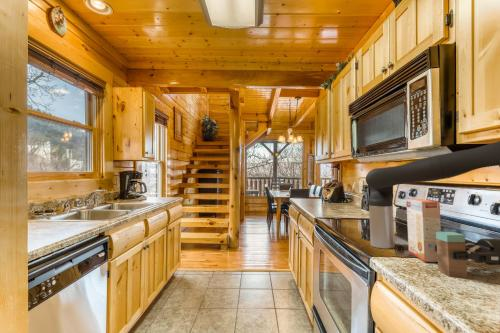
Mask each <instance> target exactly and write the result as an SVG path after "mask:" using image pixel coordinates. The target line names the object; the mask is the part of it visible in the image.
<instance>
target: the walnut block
mask: <svg viewBox="0 0 500 333" xmlns="http://www.w3.org/2000/svg"><path fill="white" fill-rule="evenodd" d="M436 241H437V259H438V263H437V271H438V272H439V271H440V272H439V273H441V272H442V273H441V274H443V273H444V274H443V275H445V276H447V277H449V278H467V277H468V267H467V266H468V265H467V260H455V259H452V256H451V252H452V251H466V246H465V244H466V234H462V233H458V232H454V231H441V232H436Z"/></svg>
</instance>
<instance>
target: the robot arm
mask: <svg viewBox="0 0 500 333" xmlns="http://www.w3.org/2000/svg"><path fill="white" fill-rule="evenodd" d="M497 166H498V167H499V168H500V140H499V141H494V142H491V143H488V144H485V145H481V146H478V147H475V148H469V149H464V150H458V151H453V152H448V153H442V154H438V155H433V156H429V157H424V158H420V159H417V160H414V161H411V162H407V163H405V164H400V165H396V166H387V167H378V168H377V167H376V168H373V169H371V170H370V171H368V173H367V174H366V176H365V183H366V184H367V186H368V187H369V188H370V189H369V191H370V192H369V198H368V212H369V213H368V215H369V217H368V218H369V234H370V236H369V238H370V241H369V242H370V246H371V247H374V248H378V249H393V248H395V245H396V243H395V223H394V222H395V220H394V203H393V202H394V186H398V185H402V184H411V183H424V182H433V181H441V180H446V179H451V178H454V177H457V176H461V175H463V174H467V173H470V172H472V171H475V170H480V169H483V168H489V167H497ZM465 246H466V251H452V252H451V256H452V259H455V260H466V261H469V262H470V261H471V262H472V261H473V262H474V263H477V264H483V263H484V264H485V265H489V266H500V238H480V239H478V240H477V241H476V243H475V244H474V243H470V242H469V243H465ZM434 247H435V251H436V252H437V245H435V246H434Z"/></svg>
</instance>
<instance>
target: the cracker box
mask: <svg viewBox="0 0 500 333" xmlns="http://www.w3.org/2000/svg"><path fill="white" fill-rule="evenodd" d="M440 206H441V203H440V201H438V200H430V199H425V198H406V220H407V221H406V222H407V223H406V224H407V242H408V243H407V244H408V253H410V254H412V255H414V256H415V257H416V258H418V259H419V260H421V261H422V262H424V263H435V262H438V259H437V252H436V251H435V247H434V246H435V245H437V241H436V232H442V230H441V229H442V228H441V210H440V208H441V207H440Z"/></svg>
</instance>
